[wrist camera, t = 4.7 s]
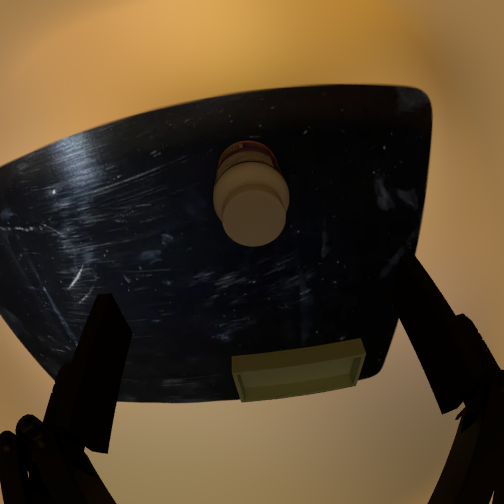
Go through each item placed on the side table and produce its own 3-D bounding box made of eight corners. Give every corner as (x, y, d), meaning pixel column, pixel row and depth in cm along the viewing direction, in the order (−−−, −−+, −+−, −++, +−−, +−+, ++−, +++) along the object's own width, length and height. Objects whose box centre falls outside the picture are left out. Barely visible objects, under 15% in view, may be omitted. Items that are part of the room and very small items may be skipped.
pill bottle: (273, 196, 29) (289, 257, 21) (216, 193, 28) (209, 254, 20) (281, 141, 26) (304, 183, 18) (219, 137, 25) (211, 177, 17)
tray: (360, 337, 42) (366, 353, 40) (351, 371, 48) (356, 385, 45) (231, 356, 43) (231, 373, 40) (240, 387, 48) (241, 402, 46)
